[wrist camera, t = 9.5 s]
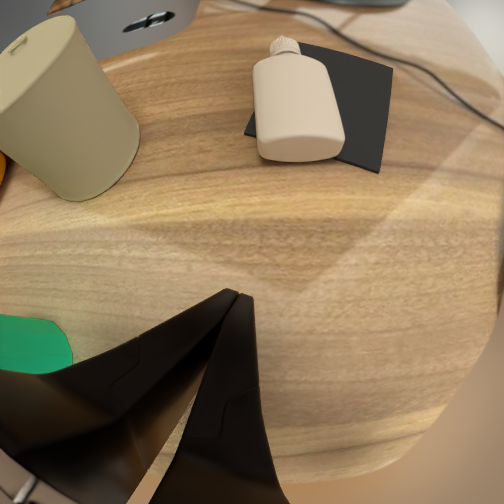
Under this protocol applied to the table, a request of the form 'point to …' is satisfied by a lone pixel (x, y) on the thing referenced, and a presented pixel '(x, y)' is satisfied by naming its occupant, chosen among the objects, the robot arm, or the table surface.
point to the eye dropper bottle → (295, 106)
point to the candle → (32, 345)
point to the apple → (2, 166)
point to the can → (63, 112)
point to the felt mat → (354, 104)
